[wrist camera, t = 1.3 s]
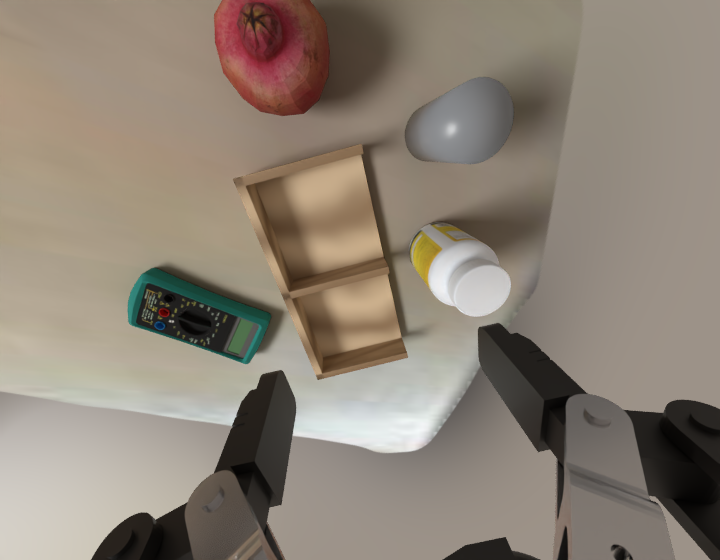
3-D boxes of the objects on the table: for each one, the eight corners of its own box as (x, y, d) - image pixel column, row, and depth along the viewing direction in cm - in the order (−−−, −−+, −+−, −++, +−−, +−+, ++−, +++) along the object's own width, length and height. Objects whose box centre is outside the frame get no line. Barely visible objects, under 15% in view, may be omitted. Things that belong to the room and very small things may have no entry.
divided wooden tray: (246, 175, 27) (232, 179, 24) (358, 145, 27) (361, 143, 23) (319, 358, 38) (317, 379, 34) (401, 337, 37) (407, 357, 34)
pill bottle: (410, 277, 34) (444, 333, 23) (404, 226, 31) (440, 263, 20) (462, 266, 34) (519, 318, 23) (460, 215, 31) (525, 246, 20)
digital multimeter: (149, 262, 31) (131, 272, 28) (274, 312, 35) (269, 325, 32) (135, 312, 33) (118, 326, 30) (254, 353, 37) (248, 369, 34)
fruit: (290, 142, 26) (266, 135, 17) (218, 66, 24) (144, 10, 14) (350, 74, 25) (358, 26, 15) (279, -18, 22) (239, -143, 13)
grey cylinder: (400, 112, 26) (435, 89, 17) (451, 98, 26) (513, 67, 17) (409, 166, 28) (443, 172, 19) (456, 154, 28) (513, 153, 19)
